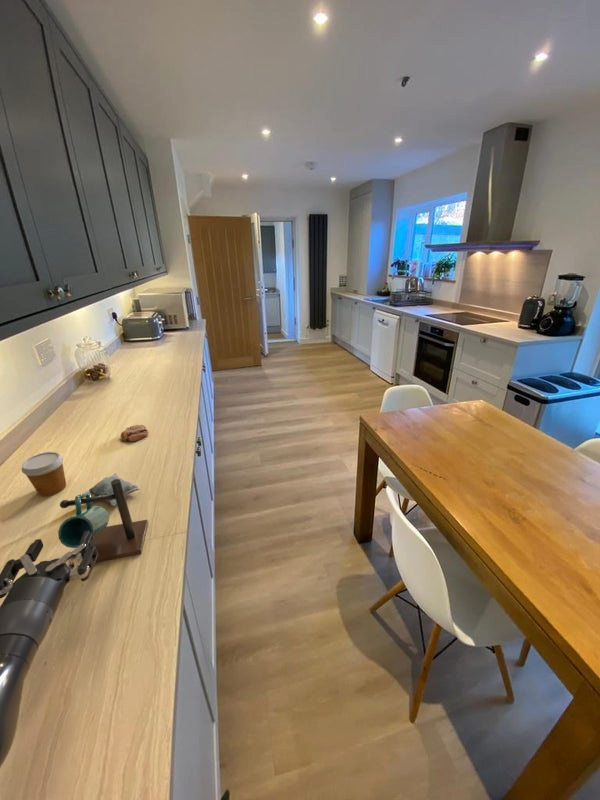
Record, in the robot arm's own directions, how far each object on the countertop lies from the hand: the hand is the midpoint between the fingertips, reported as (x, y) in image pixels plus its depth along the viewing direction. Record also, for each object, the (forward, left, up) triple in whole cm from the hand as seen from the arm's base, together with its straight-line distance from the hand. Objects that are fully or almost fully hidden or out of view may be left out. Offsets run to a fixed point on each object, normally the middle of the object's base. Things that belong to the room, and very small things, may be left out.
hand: (64, 537), depth 64 cm
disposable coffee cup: (+7, +38, -14) cm, 41 cm away
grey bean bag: (+18, +23, -14) cm, 32 cm away
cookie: (+39, +52, -14) cm, 66 cm away
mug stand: (+9, +6, -13) cm, 17 cm away
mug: (+9, +11, -6) cm, 15 cm away
